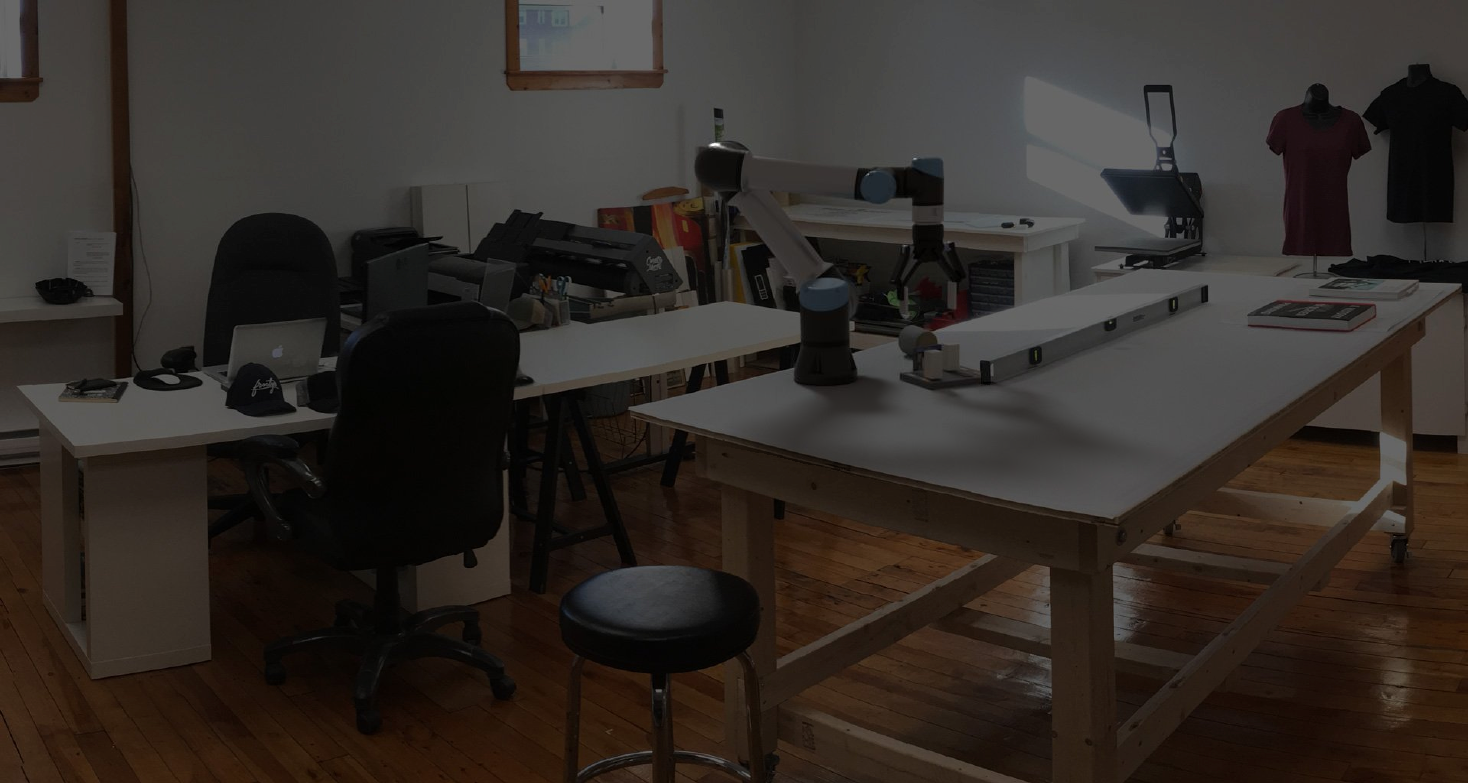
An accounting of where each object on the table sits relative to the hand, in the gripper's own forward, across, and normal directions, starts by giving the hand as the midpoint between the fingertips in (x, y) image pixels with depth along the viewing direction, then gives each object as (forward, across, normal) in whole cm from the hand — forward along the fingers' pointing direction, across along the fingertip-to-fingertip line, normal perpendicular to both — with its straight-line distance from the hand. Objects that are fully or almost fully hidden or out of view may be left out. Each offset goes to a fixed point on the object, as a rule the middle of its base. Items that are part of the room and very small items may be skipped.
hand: (928, 311), depth 311 cm
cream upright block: (+12, -9, -16) cm, 22 cm away
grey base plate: (+14, -3, -13) cm, 20 cm away
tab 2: (+12, 0, -10) cm, 16 cm away
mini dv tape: (+15, 0, 0) cm, 15 cm away
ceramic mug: (+15, +9, +17) cm, 24 cm away
